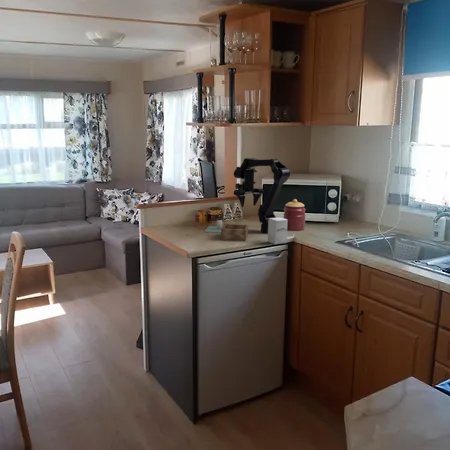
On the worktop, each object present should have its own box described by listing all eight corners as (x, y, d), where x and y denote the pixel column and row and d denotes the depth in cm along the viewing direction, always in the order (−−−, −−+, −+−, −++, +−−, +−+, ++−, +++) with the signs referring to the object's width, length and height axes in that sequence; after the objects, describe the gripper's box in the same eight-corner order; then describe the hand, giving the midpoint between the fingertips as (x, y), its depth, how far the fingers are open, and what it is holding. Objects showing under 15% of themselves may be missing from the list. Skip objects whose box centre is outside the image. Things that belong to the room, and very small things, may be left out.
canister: (305, 226, 287) (306, 197, 283) (304, 231, 275) (306, 201, 271) (283, 225, 289) (284, 197, 286) (282, 230, 277) (283, 200, 273)
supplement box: (275, 244, 243) (275, 220, 241) (267, 241, 250) (268, 217, 247) (287, 243, 247) (288, 219, 244) (279, 240, 253) (279, 216, 250)
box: (247, 235, 262) (247, 224, 261) (245, 241, 250) (245, 229, 249) (224, 234, 264) (224, 223, 263) (221, 239, 251) (221, 228, 250)
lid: (233, 228, 282) (233, 218, 281) (230, 234, 268) (230, 223, 266) (208, 227, 284) (208, 217, 283) (204, 233, 270) (204, 222, 268)
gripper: (252, 177, 287) (251, 203, 291) (227, 179, 276) (227, 205, 280) (264, 179, 279) (263, 205, 282) (240, 181, 268) (239, 208, 271)
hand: (248, 206), depth 279 cm, fingers open, 9 cm apart
